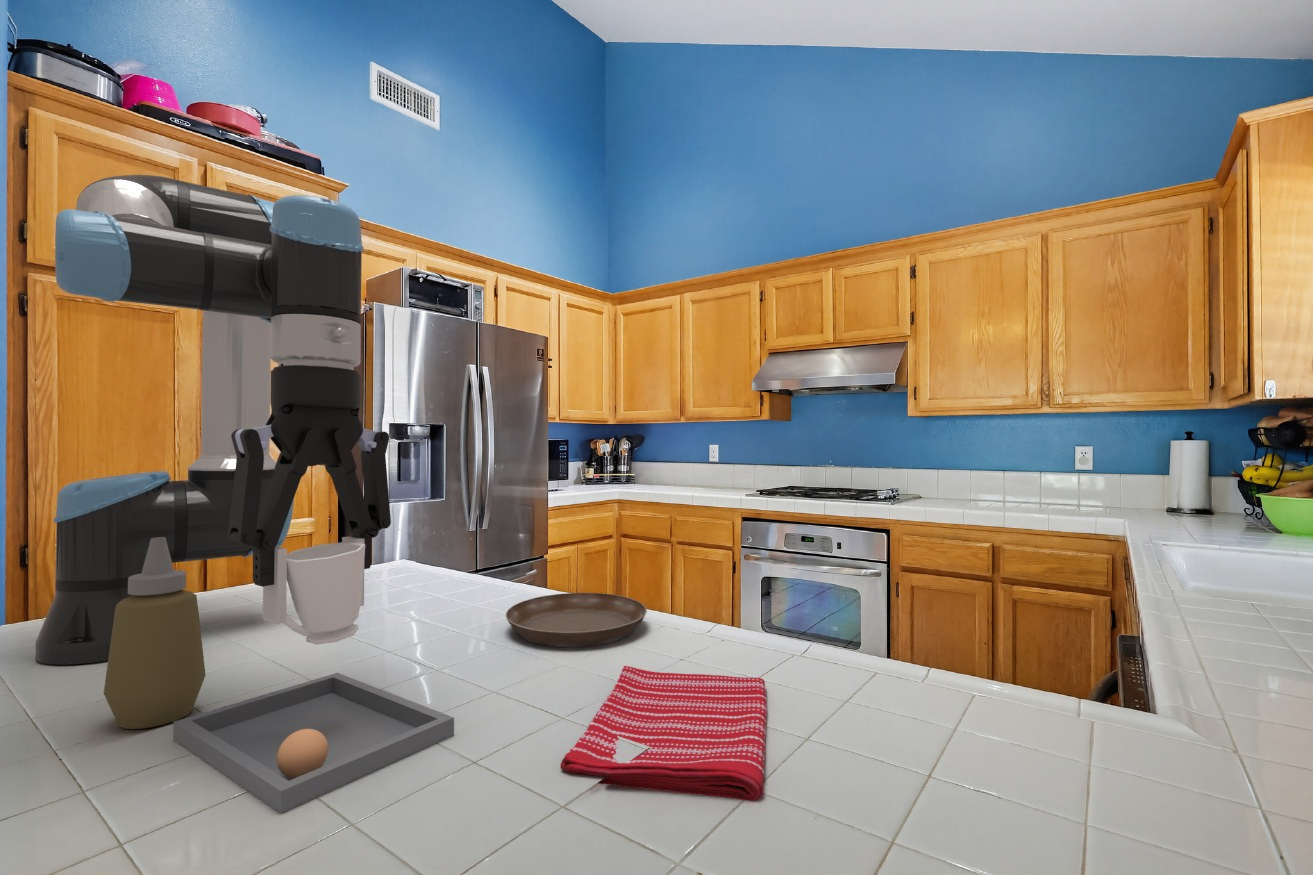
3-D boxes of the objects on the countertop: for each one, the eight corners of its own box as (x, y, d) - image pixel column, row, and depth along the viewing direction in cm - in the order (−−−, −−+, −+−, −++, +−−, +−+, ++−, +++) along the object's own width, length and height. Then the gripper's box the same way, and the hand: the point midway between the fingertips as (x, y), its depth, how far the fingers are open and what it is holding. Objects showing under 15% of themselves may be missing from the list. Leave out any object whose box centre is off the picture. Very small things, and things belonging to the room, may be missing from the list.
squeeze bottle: (224, 707, 66) (226, 534, 66) (139, 742, 58) (141, 546, 58) (170, 697, 69) (172, 530, 69) (82, 729, 61) (84, 541, 61)
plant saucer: (644, 654, 84) (644, 629, 84) (488, 653, 84) (488, 628, 84) (648, 613, 104) (648, 592, 104) (523, 612, 105) (523, 592, 105)
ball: (268, 778, 50) (268, 733, 50) (313, 760, 53) (314, 717, 53) (290, 793, 48) (290, 745, 48) (336, 772, 51) (337, 728, 51)
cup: (341, 651, 55) (332, 560, 55) (242, 649, 57) (232, 561, 56) (389, 621, 62) (381, 540, 62) (299, 621, 64) (290, 542, 63)
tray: (173, 748, 57) (173, 721, 57) (337, 694, 69) (337, 672, 69) (280, 824, 46) (280, 791, 46) (454, 743, 58) (454, 717, 58)
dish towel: (550, 790, 51) (550, 757, 51) (619, 682, 74) (620, 659, 74) (765, 813, 48) (765, 778, 48) (767, 693, 71) (767, 669, 71)
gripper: (216, 351, 50) (213, 646, 49) (430, 374, 66) (429, 597, 65) (178, 358, 54) (176, 630, 54) (388, 378, 70) (387, 587, 70)
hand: (315, 611), depth 60 cm, fingers closed on cup, 7 cm apart
